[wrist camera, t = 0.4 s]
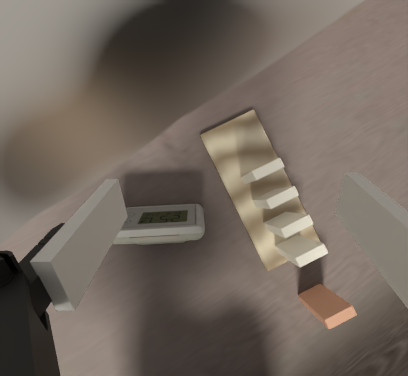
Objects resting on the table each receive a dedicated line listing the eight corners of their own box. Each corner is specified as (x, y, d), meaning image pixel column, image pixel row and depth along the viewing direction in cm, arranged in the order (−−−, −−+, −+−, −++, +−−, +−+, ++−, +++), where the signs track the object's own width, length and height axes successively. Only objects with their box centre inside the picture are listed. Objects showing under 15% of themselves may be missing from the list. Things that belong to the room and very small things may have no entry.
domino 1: (266, 173, 47) (284, 166, 37) (244, 184, 47) (256, 180, 37) (263, 166, 47) (280, 157, 37) (240, 177, 47) (251, 171, 37)
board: (318, 242, 48) (321, 243, 47) (266, 269, 47) (267, 271, 46) (252, 111, 49) (253, 109, 48) (200, 136, 48) (200, 134, 47)
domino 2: (277, 196, 47) (299, 195, 37) (255, 207, 47) (270, 209, 37) (274, 188, 47) (294, 185, 37) (251, 200, 47) (266, 199, 37)
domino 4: (300, 241, 47) (328, 253, 37) (278, 253, 46) (300, 267, 36) (297, 234, 47) (323, 243, 37) (274, 245, 47) (295, 258, 37)
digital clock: (206, 205, 48) (208, 206, 37) (199, 249, 47) (200, 264, 37) (126, 193, 48) (106, 191, 37) (119, 238, 47) (96, 248, 36)
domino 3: (289, 218, 47) (313, 223, 37) (266, 230, 47) (285, 238, 37) (285, 211, 47) (309, 214, 37) (263, 222, 47) (280, 228, 37)
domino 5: (323, 290, 47) (356, 314, 37) (301, 302, 47) (329, 329, 37) (319, 283, 47) (352, 305, 37) (297, 294, 47) (324, 320, 37)
